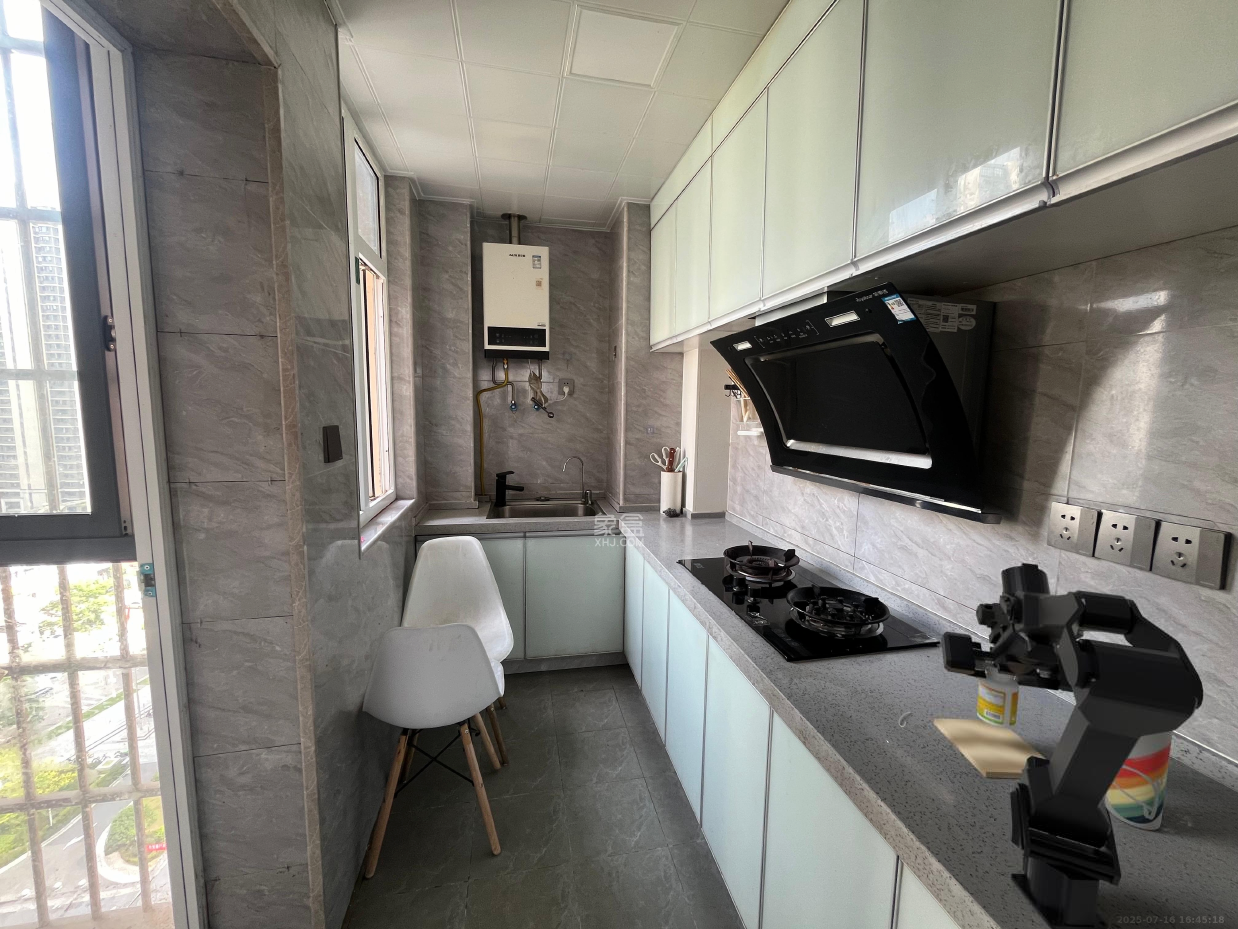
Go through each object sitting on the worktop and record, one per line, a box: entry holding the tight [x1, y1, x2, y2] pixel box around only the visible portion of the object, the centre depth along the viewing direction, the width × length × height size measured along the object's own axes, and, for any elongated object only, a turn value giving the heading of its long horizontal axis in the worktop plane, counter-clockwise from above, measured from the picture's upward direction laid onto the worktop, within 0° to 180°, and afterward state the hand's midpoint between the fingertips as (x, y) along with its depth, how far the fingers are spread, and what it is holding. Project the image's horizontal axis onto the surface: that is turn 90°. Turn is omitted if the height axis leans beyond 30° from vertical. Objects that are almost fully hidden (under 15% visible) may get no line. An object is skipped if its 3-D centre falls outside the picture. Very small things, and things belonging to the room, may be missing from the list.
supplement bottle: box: [976, 662, 1020, 729], centre depth 86 cm, size 5×5×10 cm
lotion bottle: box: [1104, 731, 1173, 831], centre depth 72 cm, size 6×6×20 cm
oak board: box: [933, 718, 1046, 779], centre depth 87 cm, size 14×12×1 cm
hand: (996, 678), depth 87 cm, fingers closed on supplement bottle, 5 cm apart
